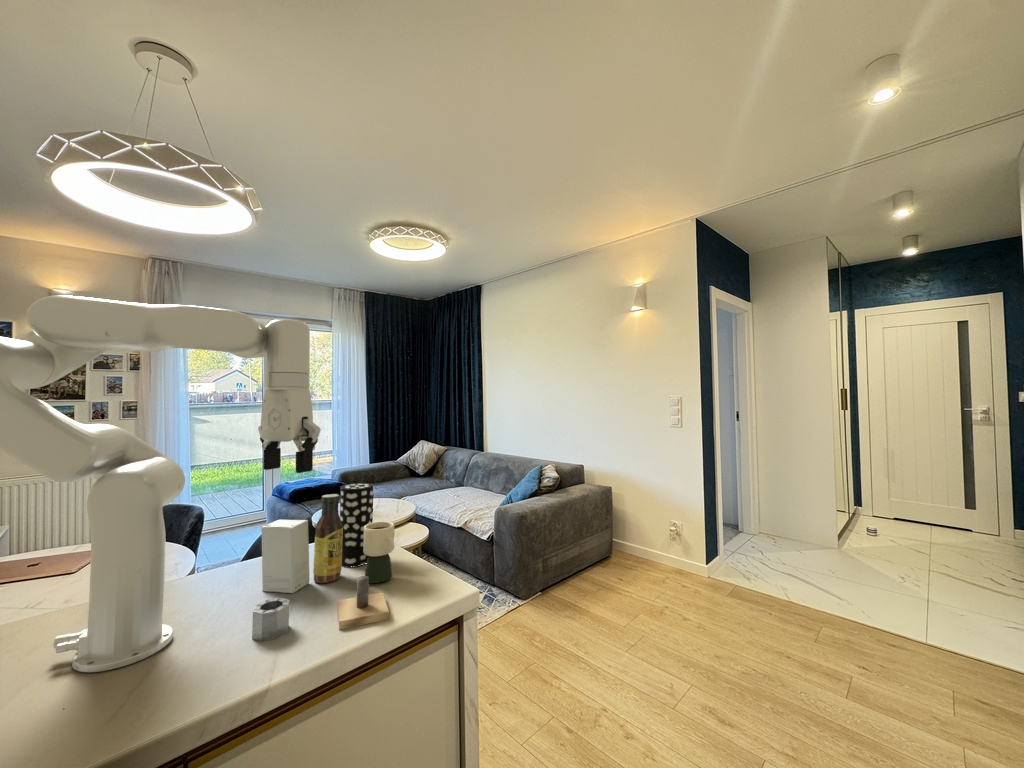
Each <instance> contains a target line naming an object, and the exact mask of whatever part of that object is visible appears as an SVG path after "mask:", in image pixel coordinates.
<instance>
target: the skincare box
mask: <svg viewBox="0 0 1024 768" xmlns="http://www.w3.org/2000/svg"><path fill="white" fill-rule="evenodd" d="M309 541H310V540H309V520H308V519H278V520H274V521H272V522H270V523H267V524H265V525H263V526H261V567H262V568H261V571H262V572H261V573H262V575H261V576H262V577H261V578H262V580H261V581H262V592H271V593H273V592H274V593H286V594H287V593H288V594H294V593H296V592H297V591H299V590H300V589H302V588H304V587H306V586H307V585H309V583H310V551H309V549H310V547H309V546H310V545H309V544H310V543H309Z"/></svg>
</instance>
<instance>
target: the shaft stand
mask: <svg viewBox="0 0 1024 768" xmlns="http://www.w3.org/2000/svg"><path fill="white" fill-rule="evenodd" d="M369 584H370V583H369V577H368V576H365V575H361V576H358V577H357V579H356V597H351V598H345V599H339V600H337V603H336V604H337V605H336V607H337V609H336V612H337V620H338V621H337V622H338V630H339V631H340V630H345V629H349V628H353V627H358V626H359V627H360V626H363V625H369V624H372V623H377V622H382V621H387V620H389V619H390V610H389V608H388V607H389V606H388V604H387V602H386V600H385V596H384V593H383V592H378V593H373V594H369V586H370V585H369Z"/></svg>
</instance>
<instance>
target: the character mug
mask: <svg viewBox="0 0 1024 768" xmlns="http://www.w3.org/2000/svg"><path fill="white" fill-rule="evenodd" d="M395 535H396V533H395V523H394V522H392V521H374V522H373V523H370V524H367V525H365V526H364V547H363V552H364V554H365V555H367V556H369V557H368V559H367V564H366V565H365V571H364V576H368V577H369V584H375V583H383V582H384V581H388V580H390V579H392V578H393V571H392V570H393V569H392V562H391V556H390V554H391V553H392V552H393V551H394V549H395V544H394V543H395V540H394V539H395ZM382 581H383V582H382Z"/></svg>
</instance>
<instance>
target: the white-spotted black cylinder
mask: <svg viewBox="0 0 1024 768" xmlns="http://www.w3.org/2000/svg"><path fill="white" fill-rule="evenodd" d="M339 488H340V490H339V491H340V494H339V498H340V499H339V517H340V520H341V523H342V526H343V542H342V567H343V566H346V567H345V568H354V567H353V566H358V565H362V564H365V563H367V559H368V557H369V556H367V555H365V554H364V552H363V547H364V526H365V525H367V524H370V523H374V522H373V521H374V520H373V519H374V518H373V517H374V513H373V511H374V507H373V506H374V484H372V483H367V482H364V483H363V482H362V483H361V482H359V483H356V482H355V483H349V484H343V485H341V486H340V487H339ZM351 566H352V567H351ZM358 567H359V566H358Z"/></svg>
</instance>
